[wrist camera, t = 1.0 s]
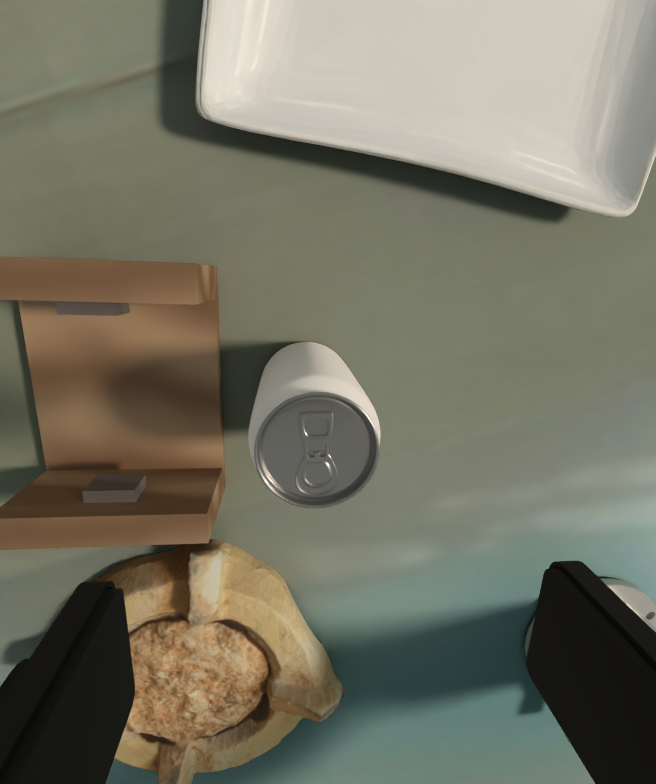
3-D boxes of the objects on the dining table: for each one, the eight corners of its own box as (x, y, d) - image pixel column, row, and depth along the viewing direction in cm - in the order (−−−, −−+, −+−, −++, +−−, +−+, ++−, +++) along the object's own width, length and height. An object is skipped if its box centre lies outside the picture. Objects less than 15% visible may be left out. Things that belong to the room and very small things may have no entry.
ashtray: (306, 504, 33) (310, 543, 28) (351, 719, 39) (360, 780, 35) (4, 566, 32) (-47, 617, 27) (103, 776, 38) (76, 847, 34)
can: (262, 428, 30) (247, 520, 19) (258, 341, 29) (239, 384, 17) (349, 425, 31) (386, 513, 19) (350, 340, 29) (392, 381, 18)
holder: (225, 486, 31) (208, 543, 25) (58, 489, 30) (-8, 550, 23) (216, 267, 27) (193, 263, 20) (21, 260, 26) (-72, 253, 19)
